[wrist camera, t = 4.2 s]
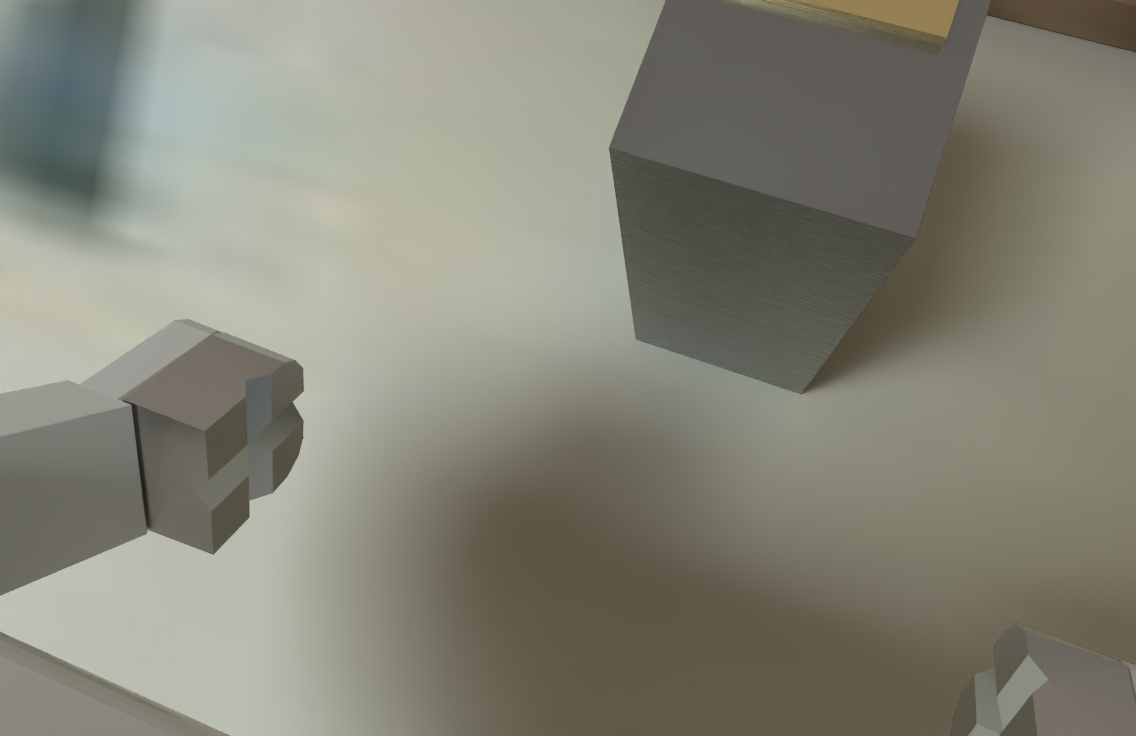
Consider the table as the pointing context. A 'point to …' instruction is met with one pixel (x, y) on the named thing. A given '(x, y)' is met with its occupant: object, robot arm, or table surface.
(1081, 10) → the pallet
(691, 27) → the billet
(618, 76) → the table surface
